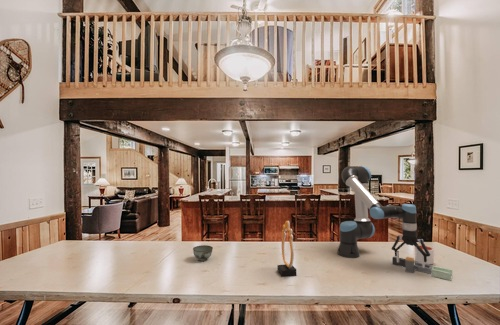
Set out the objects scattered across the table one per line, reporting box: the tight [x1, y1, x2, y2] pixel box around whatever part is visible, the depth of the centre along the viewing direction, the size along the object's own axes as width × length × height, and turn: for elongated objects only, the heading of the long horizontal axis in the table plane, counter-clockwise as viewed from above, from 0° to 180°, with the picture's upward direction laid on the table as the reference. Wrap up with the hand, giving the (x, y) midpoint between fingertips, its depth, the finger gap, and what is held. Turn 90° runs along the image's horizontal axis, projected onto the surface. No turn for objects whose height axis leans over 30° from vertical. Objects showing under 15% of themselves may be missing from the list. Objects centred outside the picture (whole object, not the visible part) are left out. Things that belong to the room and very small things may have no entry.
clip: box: [414, 261, 434, 275], centre depth 161 cm, size 9×7×3 cm
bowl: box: [192, 244, 214, 262], centre depth 179 cm, size 14×13×8 cm
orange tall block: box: [404, 256, 415, 274], centre depth 159 cm, size 4×4×8 cm
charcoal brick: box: [391, 256, 406, 268], centre depth 169 cm, size 8×3×4 cm, turn 47°
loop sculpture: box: [277, 220, 297, 278], centre depth 156 cm, size 17×9×32 cm, turn 12°
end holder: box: [431, 265, 453, 282], centre depth 152 cm, size 9×8×4 cm
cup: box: [414, 245, 434, 266], centre depth 174 cm, size 10×10×10 cm
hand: (410, 264), depth 159 cm, fingers open, 13 cm apart
